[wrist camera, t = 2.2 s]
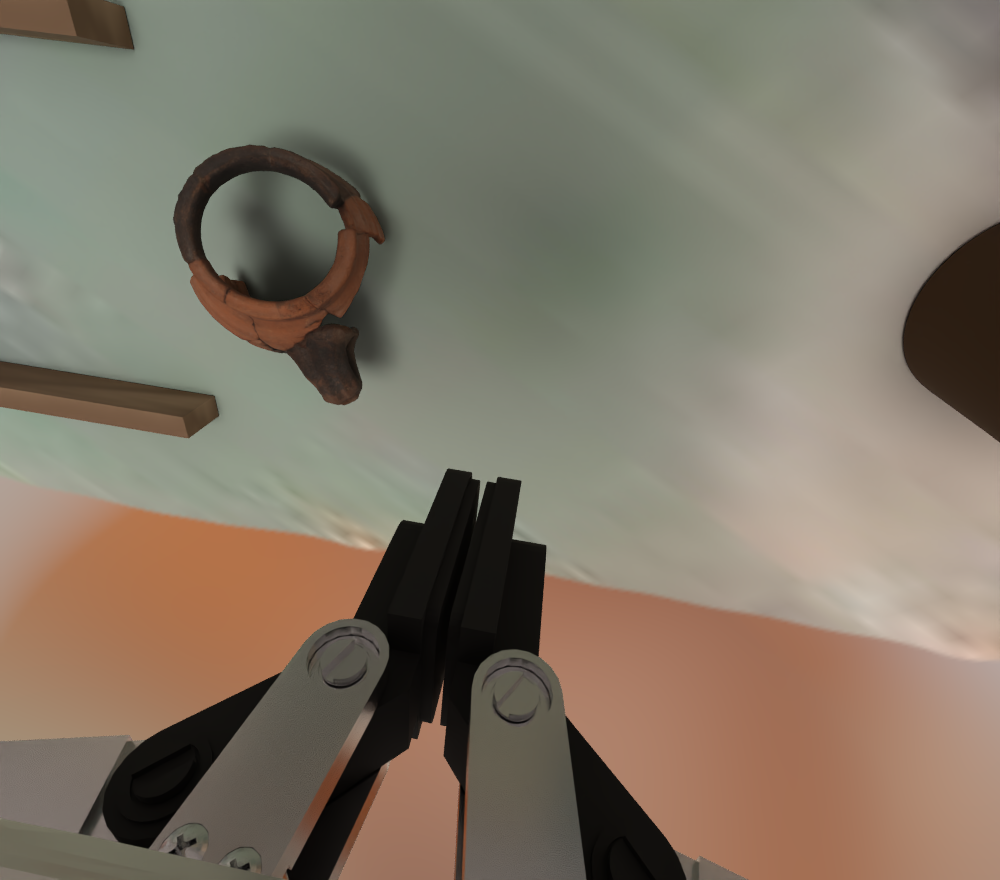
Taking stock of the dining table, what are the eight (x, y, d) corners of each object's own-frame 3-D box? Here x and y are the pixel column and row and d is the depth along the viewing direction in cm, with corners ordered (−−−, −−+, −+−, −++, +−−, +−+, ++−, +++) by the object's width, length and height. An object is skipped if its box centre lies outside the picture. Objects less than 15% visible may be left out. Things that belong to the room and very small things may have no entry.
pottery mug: (195, 245, 27) (97, 180, 19) (345, 173, 28) (312, 82, 20) (307, 430, 29) (261, 443, 21) (445, 357, 30) (452, 342, 22)
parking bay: (-228, -34, 22) (-331, -58, 20) (124, 6, 21) (63, -13, 19) (-20, 376, 33) (-69, 395, 31) (218, 415, 32) (188, 438, 30)
